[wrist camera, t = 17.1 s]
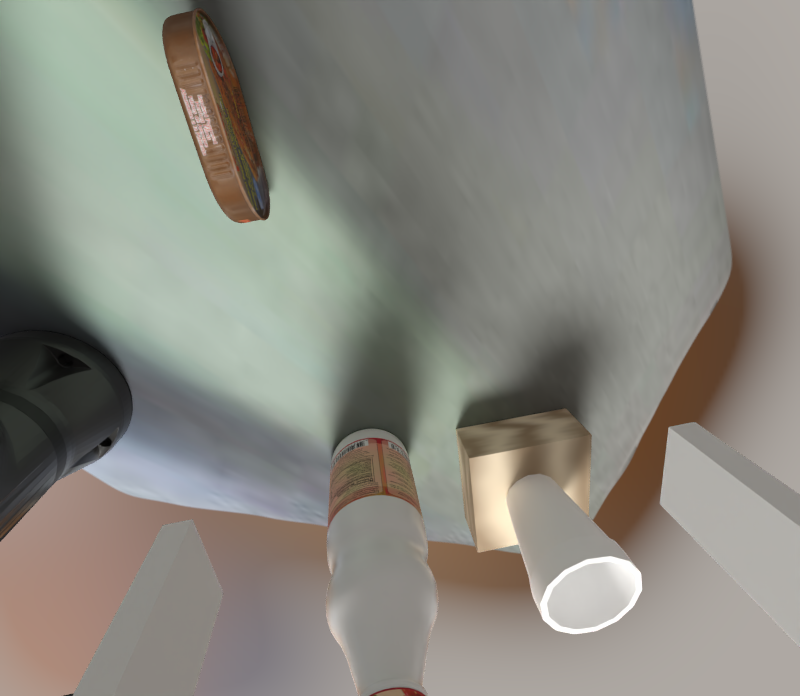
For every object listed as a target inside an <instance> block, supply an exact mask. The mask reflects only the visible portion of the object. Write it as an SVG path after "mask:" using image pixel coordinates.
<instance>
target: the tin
mask: <svg viewBox="0 0 800 696" xmlns="http://www.w3.org/2000/svg"><path fill="white" fill-rule="evenodd" d="M162 36H163V45H164V50H165V55H166V59H167V63H168V66H169V70H170V73H171V76H172V79H173V82H174V85H175V88H176V91H177V94H178V97H179V100H180V103H181V106H182V109H183V112H184V115H185V118H186V121H187V124H188V127H189V130H190V133H191V136H192V139H193V141H194V144H195V147H196V150H197V153H198V156H199V159H200V162H201V165H202V168H203V170H204V173H205V176H206V179H207V181H208V184H209V186H210V189H211V191H212V193H213V195H214V197H215V199H216V201H217V203H218V204H219V206H220V207H221V209H222V210H223V212H224V213H225V214H226V215H227V216H228V217H229V218H230V219H231V220H232V221H235V222H238V223H246V222H251V221H256V220H266V219H267V218H268V217H269V213H270V197H269V190H268V185H267V180H266V176H265V172H264V169H263V165H262V161H261V158H260V154H259V151H258V148H257V144H256V141H255V137H254V133H253V130H252V127H251V123H250V119H249V116H248V112H247V109H246V105H245V102H244V98H243V95H242V91H241V88H240V84H239V81H238V78H237V75H236V72H235V69H234V66H233V63H232V61H231V58H230V56H229V53H228V51H227V48H226V46H225V44H224V42H223V40H222V37H221V35H220V34H219V32H218V30H217V28H216V26H215V25H214V23H213V22H212V20H211V18H210V17H209V16H208V14H207V13H206V12H205V11H204V10H203V9H201V8H197V9H195V10H194V11H190V12H185V13H180V14H176V15H172V16H170V17H168V18H167V19H166V20H165V21H164V24H163V31H162Z"/></svg>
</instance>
